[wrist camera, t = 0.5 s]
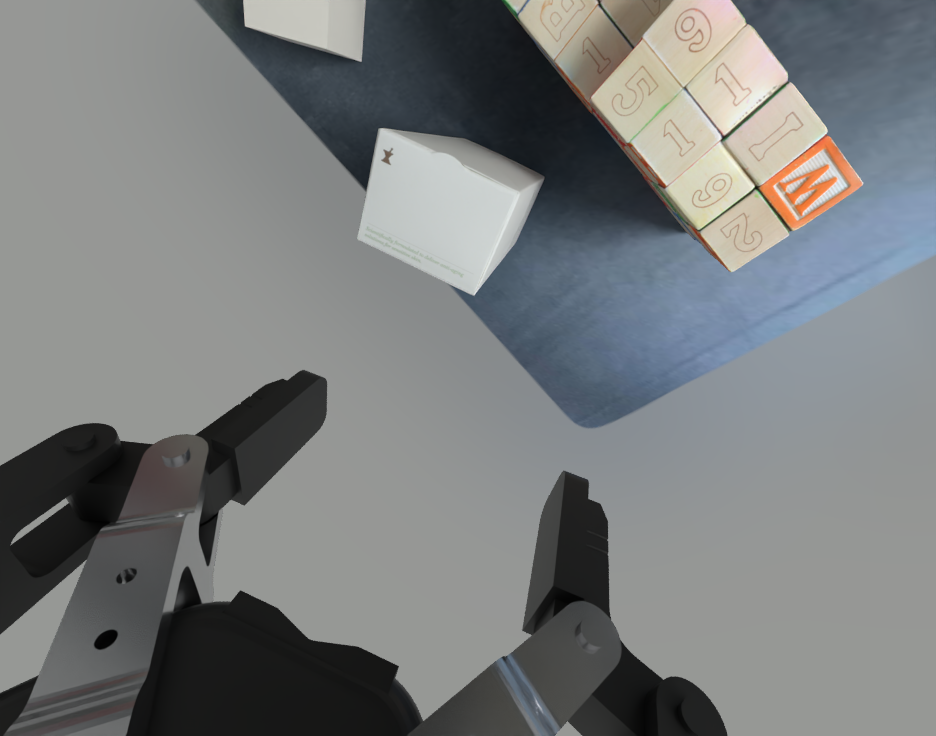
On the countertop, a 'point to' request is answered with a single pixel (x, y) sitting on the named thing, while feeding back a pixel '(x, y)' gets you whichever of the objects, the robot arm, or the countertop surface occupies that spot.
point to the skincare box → (445, 205)
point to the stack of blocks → (697, 114)
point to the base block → (311, 23)
